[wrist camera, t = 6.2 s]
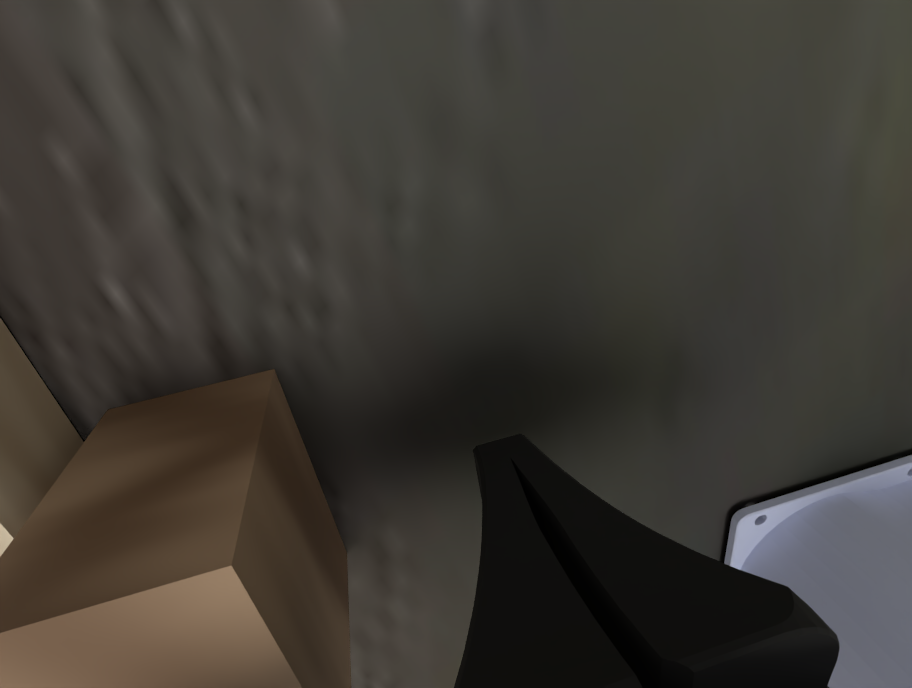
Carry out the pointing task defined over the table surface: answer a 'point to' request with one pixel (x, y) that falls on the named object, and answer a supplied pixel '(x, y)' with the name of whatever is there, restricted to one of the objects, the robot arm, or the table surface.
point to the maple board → (27, 438)
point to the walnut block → (181, 555)
